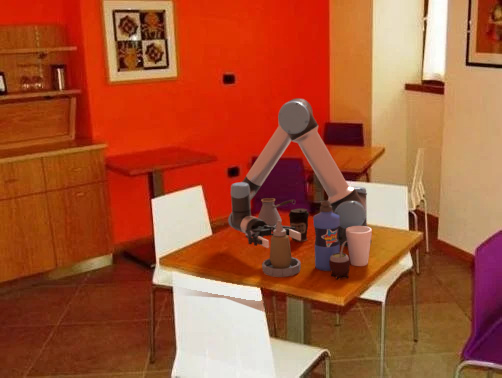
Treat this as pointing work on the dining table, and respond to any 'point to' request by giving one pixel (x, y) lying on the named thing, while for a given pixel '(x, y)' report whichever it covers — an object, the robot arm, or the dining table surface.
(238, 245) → the dining table surface
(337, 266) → the mate gourd
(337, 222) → the water bottle
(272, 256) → the squeeze bottle
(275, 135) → the robot arm
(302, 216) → the coffee cup
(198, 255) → the dining table surface
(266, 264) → the dish
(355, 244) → the foam cup
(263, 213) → the coffee pot
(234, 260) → the dining table surface
